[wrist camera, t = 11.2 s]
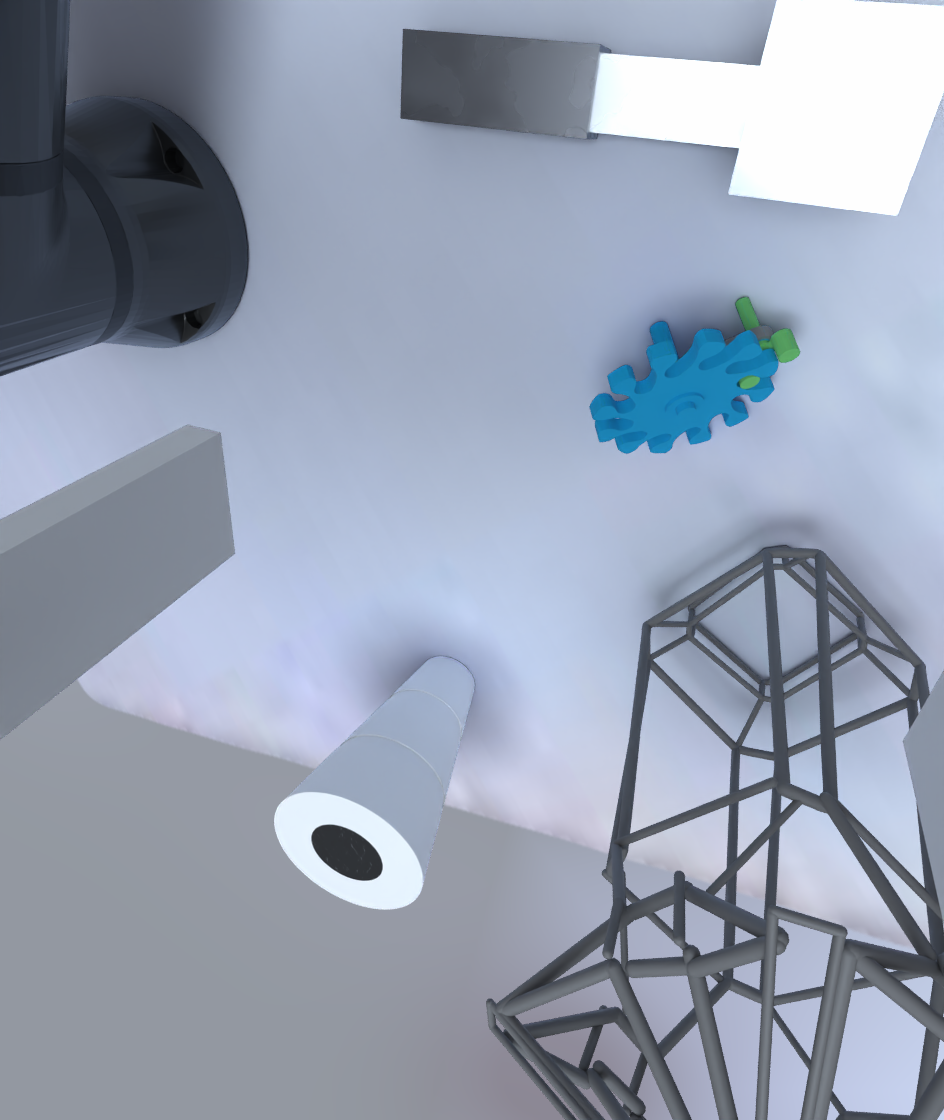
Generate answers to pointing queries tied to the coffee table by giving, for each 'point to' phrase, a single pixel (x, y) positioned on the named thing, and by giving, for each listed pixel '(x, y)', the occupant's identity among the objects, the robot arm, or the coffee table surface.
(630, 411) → the gear
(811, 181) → the grey rectangular block
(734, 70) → the ratchet
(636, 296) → the coffee table surface
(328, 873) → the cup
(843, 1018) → the geometric lantern
